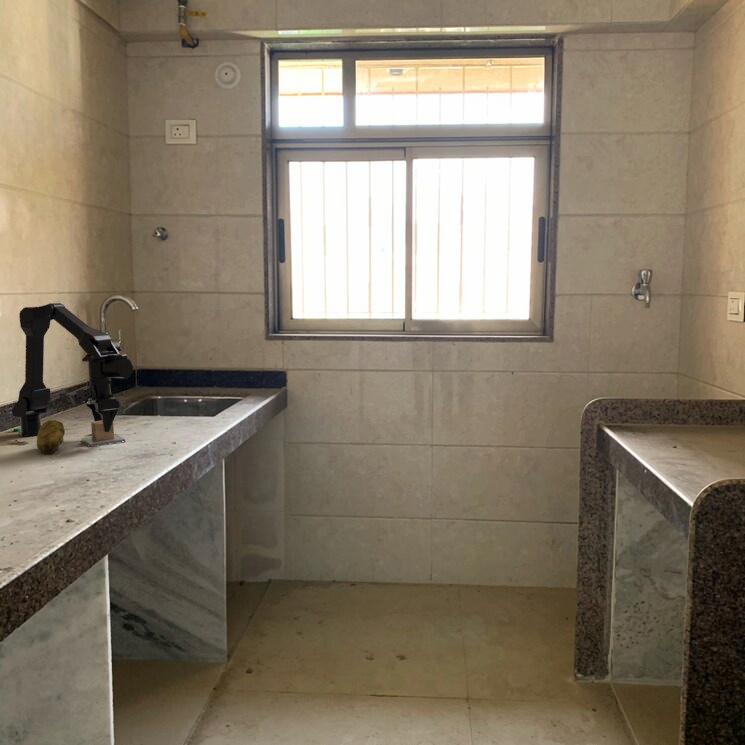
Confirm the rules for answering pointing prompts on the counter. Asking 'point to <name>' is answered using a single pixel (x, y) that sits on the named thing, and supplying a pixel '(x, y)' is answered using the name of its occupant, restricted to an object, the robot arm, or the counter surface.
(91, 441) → the slate board
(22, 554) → the counter surface
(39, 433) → the potato
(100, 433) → the tan block
